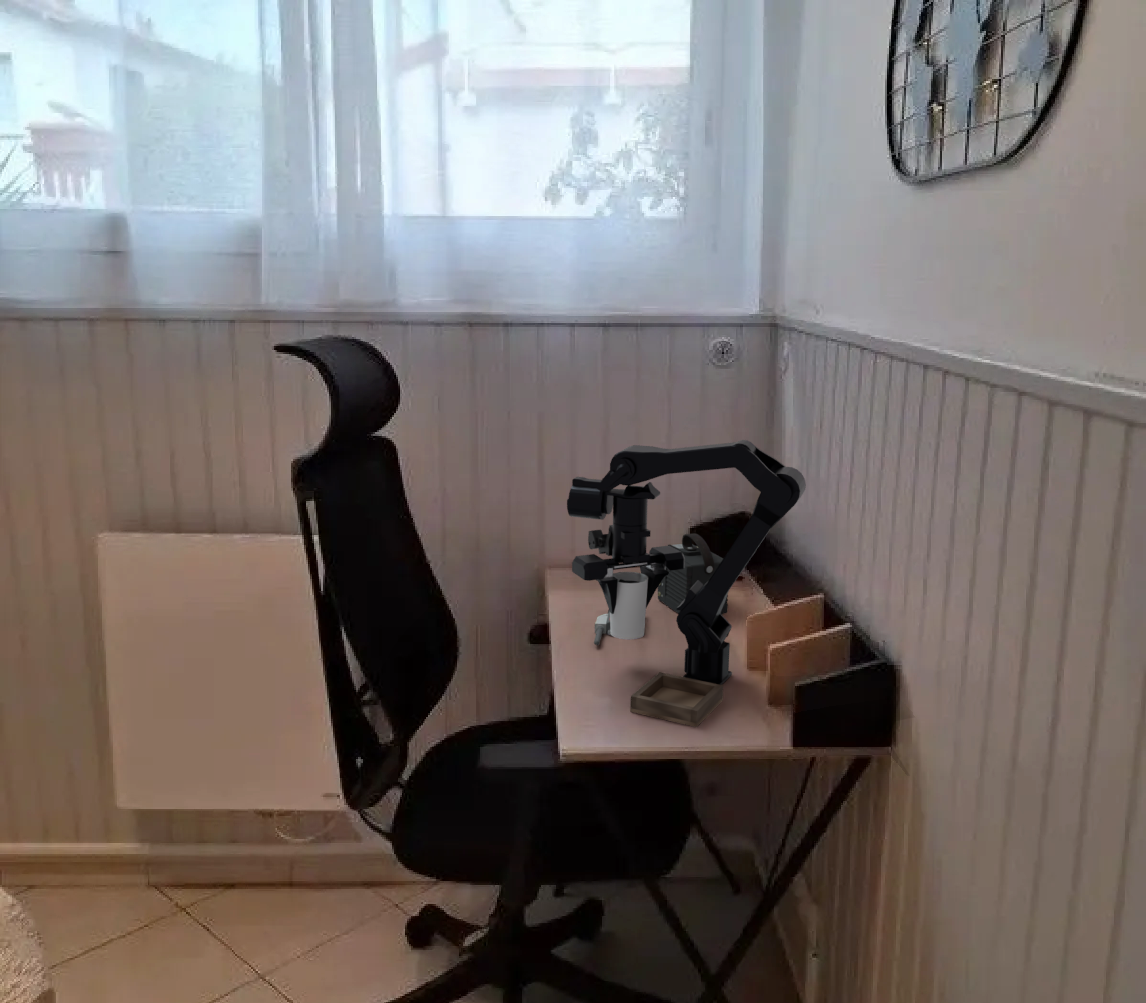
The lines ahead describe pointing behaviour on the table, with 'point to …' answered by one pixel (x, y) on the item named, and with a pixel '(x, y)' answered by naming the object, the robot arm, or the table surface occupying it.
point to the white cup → (629, 606)
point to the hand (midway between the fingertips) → (627, 611)
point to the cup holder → (677, 699)
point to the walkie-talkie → (602, 627)
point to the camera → (689, 572)
